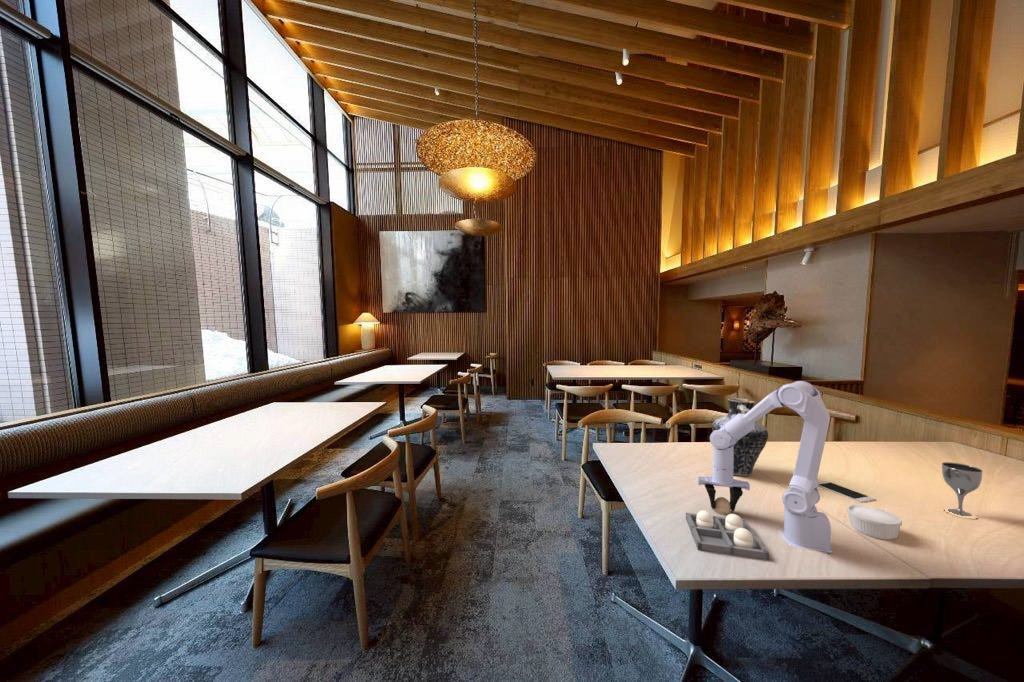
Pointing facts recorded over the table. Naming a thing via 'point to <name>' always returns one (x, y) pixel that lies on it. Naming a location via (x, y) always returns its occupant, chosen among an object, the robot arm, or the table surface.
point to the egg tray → (724, 539)
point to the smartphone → (845, 492)
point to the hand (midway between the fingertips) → (722, 508)
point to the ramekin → (874, 522)
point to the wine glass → (961, 482)
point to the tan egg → (722, 506)
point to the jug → (744, 438)
